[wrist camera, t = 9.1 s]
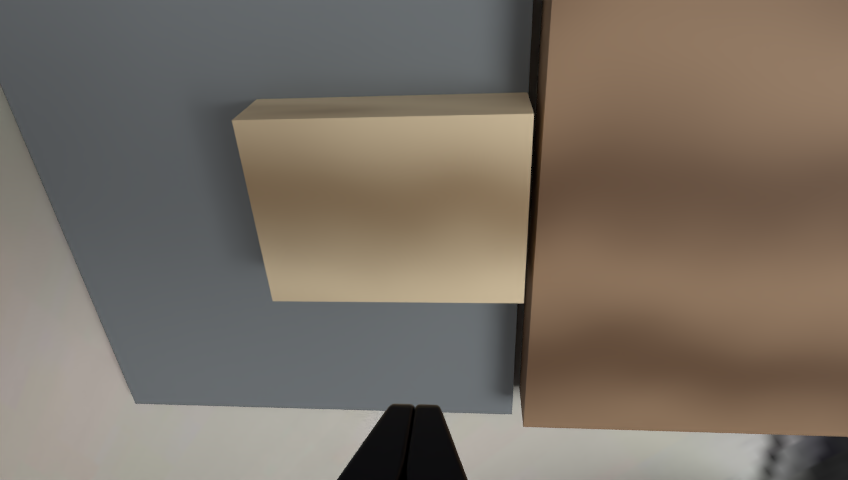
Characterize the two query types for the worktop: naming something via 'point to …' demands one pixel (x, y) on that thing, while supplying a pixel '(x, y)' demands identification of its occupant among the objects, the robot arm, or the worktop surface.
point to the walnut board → (689, 218)
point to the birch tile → (391, 196)
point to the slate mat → (245, 189)
